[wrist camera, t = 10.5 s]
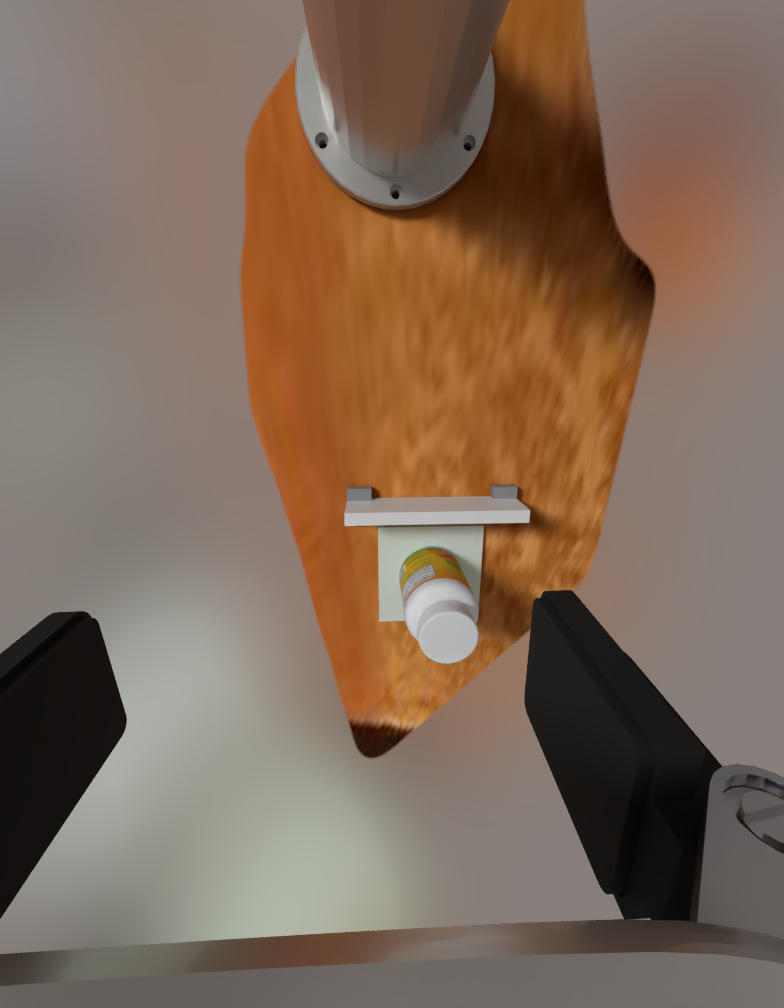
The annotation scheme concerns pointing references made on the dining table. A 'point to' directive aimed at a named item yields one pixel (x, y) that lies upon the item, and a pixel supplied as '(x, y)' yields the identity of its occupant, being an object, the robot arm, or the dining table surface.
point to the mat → (406, 539)
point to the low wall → (435, 508)
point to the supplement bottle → (439, 604)
